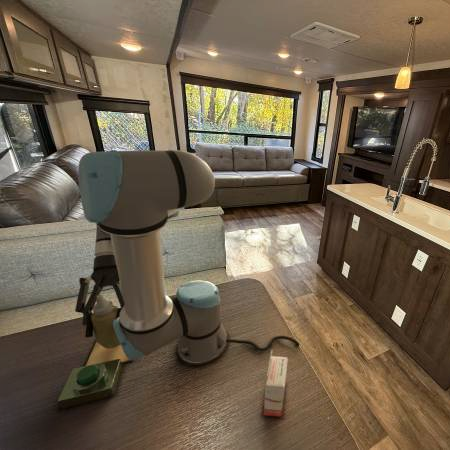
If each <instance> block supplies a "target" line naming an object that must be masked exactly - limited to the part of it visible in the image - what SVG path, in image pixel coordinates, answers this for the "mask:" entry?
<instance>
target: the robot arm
mask: <svg viewBox="0 0 450 450" xmlns="http://www.w3.org/2000/svg"><path fill="white" fill-rule="evenodd" d="M78 162H79V163H78V167H77V168H78V169H77V170H78V174H77V175H78V177H77V178H78V187H79V189H78V190H79V195H80V201H81V207H82V211H83V214H84V217H85V219H86V221H87V222H89V223H91V224H93V223H94V224H96V230H95V231H96V233H95V245H94V253H93V254H94V258H93V266H92V267H93V268H92V273H91V275H90V276H86V277H80V278H79V279H78V281H79V290H78V295H77V299H76V304H75V309H74V312H76V313H81V314H82V326H85V336H84V339H85V338H93V337H94V330H93V325H92V320H91V316H92V314H93V313H94V312H93V307H94V306H95V305H96V304H97V296H98V295H101V292H102V291H103V290H104V288H107V287H112V288H113V290H114V292H115V295H116V298H117V300H118V303H119V307H118V309H117V319H115V320H114V321H113V327H114V330H115V333H116V336H117V338H118V340H119V342H120V344H121V346H122V349H123V351H124V353H125V355H126V356H127V358H128V359H130V360H132V361H137V360H139V359H141V358H143V357H147V356H149V355H150V354H152V353H154V352H156V351H158V350H159V349H162V348H163V347H165V346H168V345H169V344H171V343H173V342H175V341H177V340H178V342H177V353H178V357H179V359H180V360H181V361H182V362H183V363H184V364H186V365H190V366H203V365H206V364H209V363H211V362H213V361H215V360H216V359H218V358H219V357H220V356H221V355H222V354H223V353H224V352H225V350H226V349H227V346H228V343H233V344H246V345H250V346H252V347H253V348H254V349H256V350H257V351H259V352H265V351H267V350H269V349H270V348H271V347H272V344H273V343H274V342H275V341H276V340H287V341H290V342H292V343H293V344H294V345H296V346H300V345H301V344H300V343H299V342H298V341H297V340H296V339H295V338H293V337H291V336H287V335H277V336H274V337H273V338H271V339H270V340H269V341H268V343H267V345H266V346H265V347H260V346H259V345H258V344H256V343H255V342H253V341H250V340H247V339H246V340H245V339H233V338H228V334H227V330H226V329H225V327H224V326H223V323H222V320H221V319H222V316H221V297H220V290H219V288H218V287H217V286H216V285H215V284H214V283H212V282H211V281H206V280H201V279H200V280H198V279H197V280H191V281H186V282H185V283H183V284H181V285H180V286H179V287H178V288H177V290H176V293H175V295H173V296H171V297H170V296H168V295H167V294H166V283H165V270H164V269H165V268H164V256H163V246H162V232H161V231H162V230H161V229H163V228H164V227H165V226H166V225H167V223H168V220H170V219H171V220H172V219H174V218H176V217H178V216H179V213H180V211H181V210H183V209H185V208H189V207H194V206H197V205H200V204H202V203H204V202H206V201H207V200H208V199H210V197H211V196H212V195H213V193H214V191H215V187H216V180H215V175H214V172H213V170H212V169H211V167H210V166H209V164H207V163H206V161H205V160H203V159H202V158H200V157H199V156H197V155H196V154H194V153H191V152H189V151H184V150H178V149H169V150H116V149H110V150H107V151H90V152H86V153H85V154H83V155H82V156H81V158H80V160H79V161H78ZM92 281H93V282H94V285H93V288H92V291H91V293H90V295H89V298H88V294H89V293H88V292H89V289H90V288H89V287H90V284H91V282H92ZM87 298H88V299H87Z"/></svg>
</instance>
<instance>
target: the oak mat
mask: <svg viewBox="0 0 450 450" xmlns="http://www.w3.org/2000/svg"><path fill="white" fill-rule="evenodd" d="M116 359H121V362H122V364H123V363H128V362H132V361H133V360H130V359H128V358H127V356H126V355H125V353H124V351H123V349H122V346H121V344H120V345H119V346H117V347H115V348H111V349H106V348H104V347H103V346H101V345H100V344H99V343H97V342H96V341H95V344H94V346H93V349H92V351H91V353H90V355H89V358H88V359H87V362H86V364H85V366H88V365H93V364H97V363H102V362H107V361H111V360H116Z"/></svg>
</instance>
